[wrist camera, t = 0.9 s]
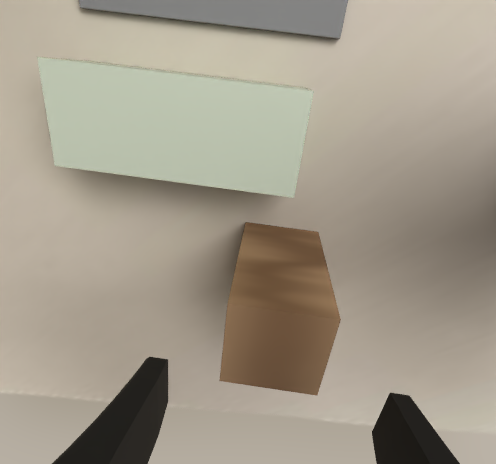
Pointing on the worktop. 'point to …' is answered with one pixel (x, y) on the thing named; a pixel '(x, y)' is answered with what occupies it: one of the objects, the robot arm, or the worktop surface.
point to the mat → (240, 13)
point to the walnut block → (279, 311)
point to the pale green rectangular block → (175, 125)
